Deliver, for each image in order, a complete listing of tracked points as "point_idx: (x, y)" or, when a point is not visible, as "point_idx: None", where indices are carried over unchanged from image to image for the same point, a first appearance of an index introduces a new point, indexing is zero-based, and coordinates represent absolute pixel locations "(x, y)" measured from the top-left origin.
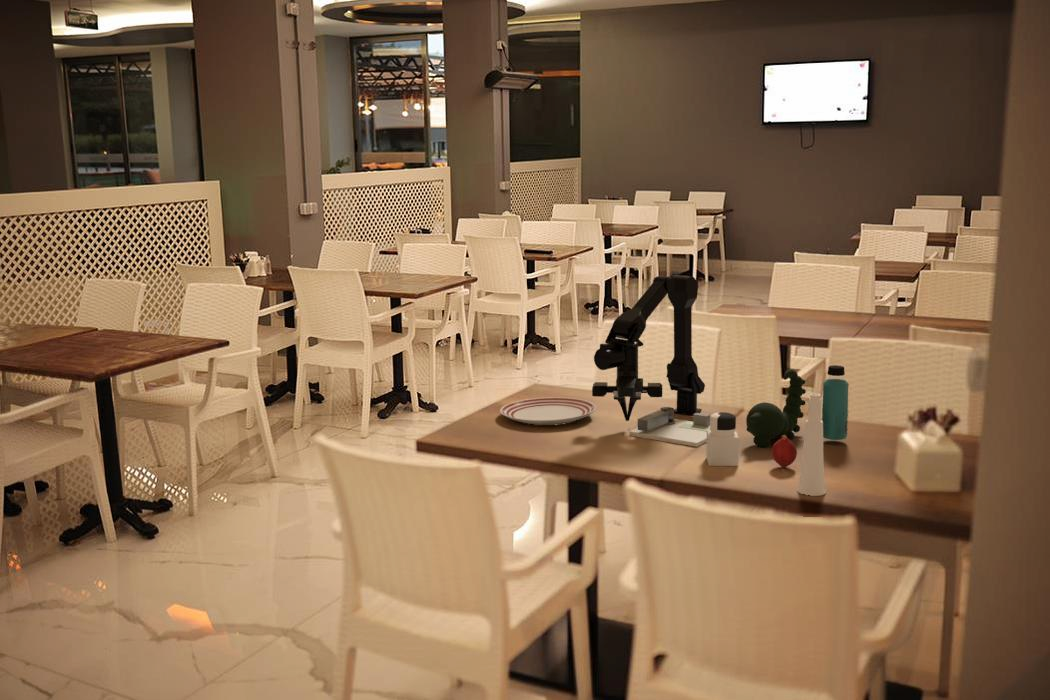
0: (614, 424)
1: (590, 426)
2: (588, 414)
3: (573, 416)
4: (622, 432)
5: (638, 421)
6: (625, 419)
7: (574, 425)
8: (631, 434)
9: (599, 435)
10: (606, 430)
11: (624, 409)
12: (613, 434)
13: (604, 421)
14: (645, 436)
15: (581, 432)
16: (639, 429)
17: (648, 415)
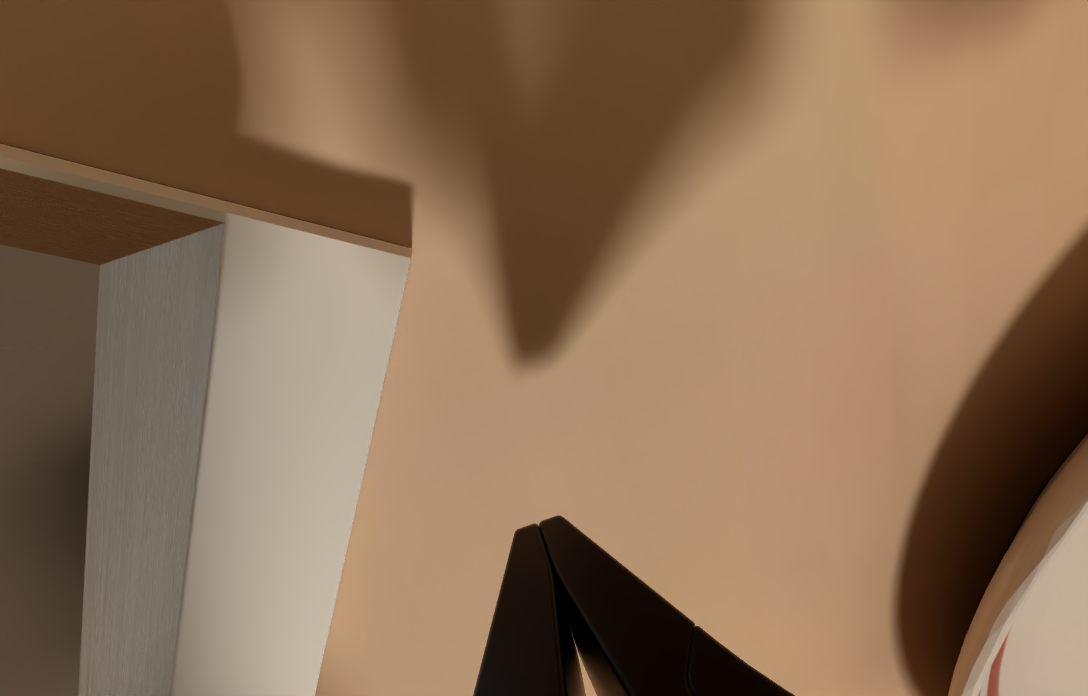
0: (694, 580)
1: (903, 432)
2: (1019, 567)
3: (1065, 571)
4: (544, 341)
5: (110, 243)
6: (569, 523)
7: (1037, 406)
8: (377, 240)
9: (796, 102)
10: (740, 355)
11: (651, 649)
12: (632, 210)
13: (792, 619)
14: (81, 170)
15: (994, 177)
16: (171, 210)
17: (15, 677)
